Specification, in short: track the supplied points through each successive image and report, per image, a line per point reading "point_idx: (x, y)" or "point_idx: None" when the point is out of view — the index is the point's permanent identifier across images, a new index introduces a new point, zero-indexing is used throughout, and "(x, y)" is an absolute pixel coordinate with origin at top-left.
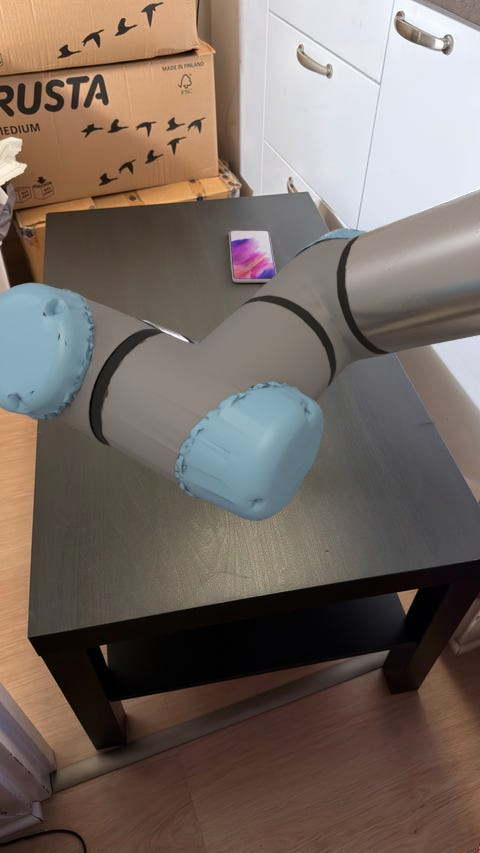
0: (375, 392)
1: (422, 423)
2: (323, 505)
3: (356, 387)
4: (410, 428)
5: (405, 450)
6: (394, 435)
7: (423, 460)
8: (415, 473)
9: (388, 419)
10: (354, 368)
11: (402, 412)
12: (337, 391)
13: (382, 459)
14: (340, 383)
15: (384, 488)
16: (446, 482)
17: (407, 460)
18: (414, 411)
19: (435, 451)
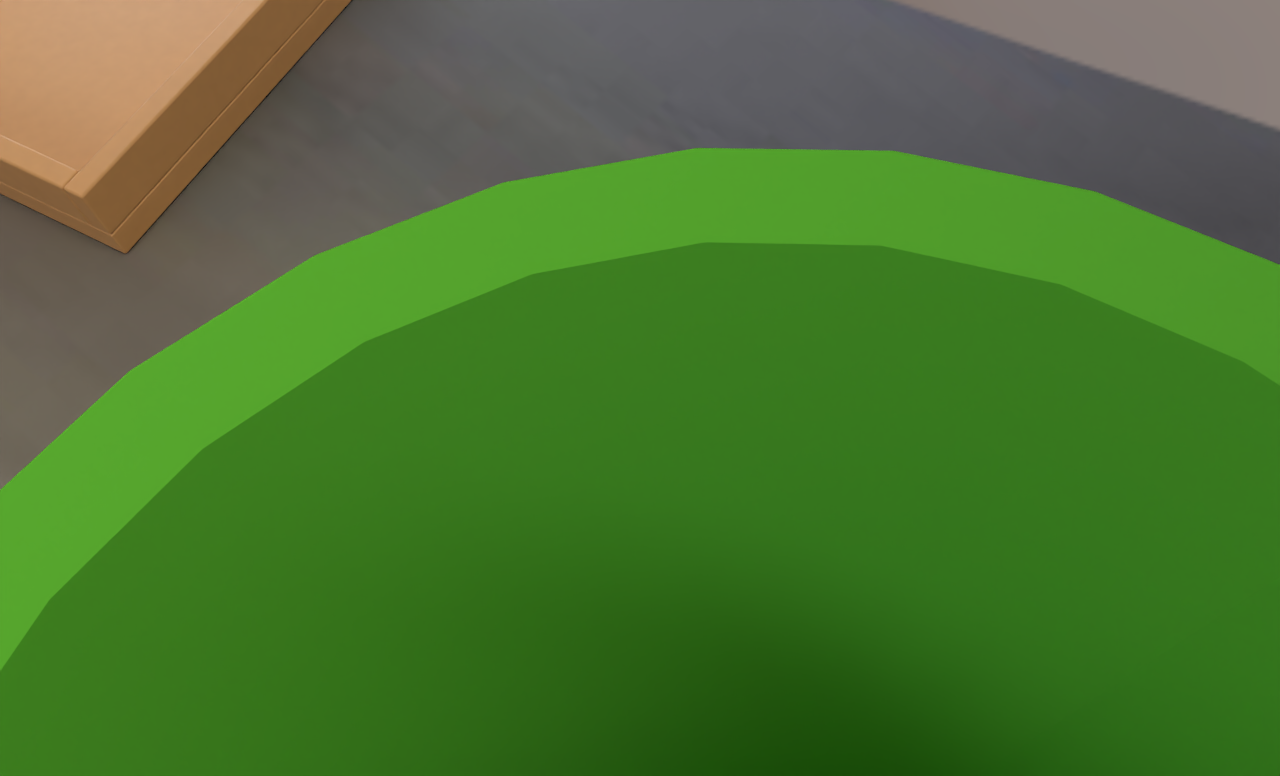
0: (655, 45)
1: (930, 26)
2: None
3: (572, 82)
4: (924, 77)
5: (1020, 173)
6: (918, 150)
7: (1112, 156)
8: None
9: (823, 108)
10: (475, 16)
11: (827, 42)
12: (529, 157)
13: None
14: (500, 115)
15: None
16: (1270, 169)
17: None
18: (853, 5)
19: (1094, 89)
